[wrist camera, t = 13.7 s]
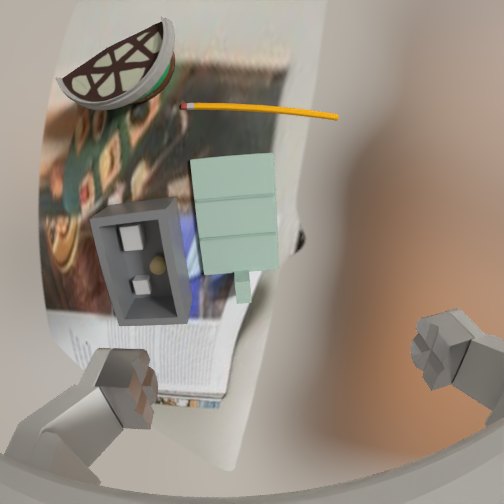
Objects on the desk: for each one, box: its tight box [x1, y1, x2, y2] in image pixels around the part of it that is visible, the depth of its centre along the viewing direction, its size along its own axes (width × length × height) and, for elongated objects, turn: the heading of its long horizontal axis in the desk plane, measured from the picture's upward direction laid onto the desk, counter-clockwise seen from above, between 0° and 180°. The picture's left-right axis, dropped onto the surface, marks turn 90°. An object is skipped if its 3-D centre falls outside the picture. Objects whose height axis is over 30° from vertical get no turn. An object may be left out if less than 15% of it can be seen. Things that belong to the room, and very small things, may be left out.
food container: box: [56, 16, 175, 110], centre depth 25 cm, size 12×6×10 cm, turn 111°
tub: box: [90, 196, 193, 326], centre depth 35 cm, size 14×9×6 cm, turn 4°
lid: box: [190, 153, 279, 304], centre depth 35 cm, size 17×10×4 cm, turn 4°
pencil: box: [181, 103, 339, 120], centre depth 32 cm, size 1×18×1 cm, turn 87°
